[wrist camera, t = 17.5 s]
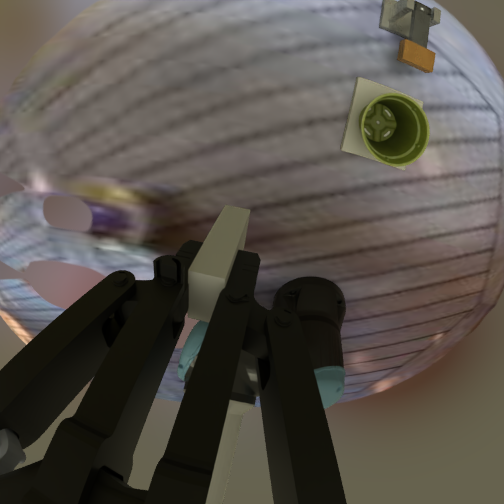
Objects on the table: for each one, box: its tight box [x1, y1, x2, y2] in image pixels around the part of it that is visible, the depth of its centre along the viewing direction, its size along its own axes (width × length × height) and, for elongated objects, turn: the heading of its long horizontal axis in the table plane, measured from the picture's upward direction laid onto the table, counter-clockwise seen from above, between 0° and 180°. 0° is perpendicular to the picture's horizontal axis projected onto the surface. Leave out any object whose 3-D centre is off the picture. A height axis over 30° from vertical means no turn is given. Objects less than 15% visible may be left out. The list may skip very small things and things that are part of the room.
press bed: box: [340, 77, 423, 171], centre depth 35 cm, size 12×11×2 cm
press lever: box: [397, 1, 435, 73], centre depth 21 cm, size 10×4×2 cm, turn 171°
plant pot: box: [359, 93, 430, 167], centre depth 31 cm, size 9×9×9 cm
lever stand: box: [379, 0, 441, 39], centre depth 21 cm, size 6×7×9 cm
